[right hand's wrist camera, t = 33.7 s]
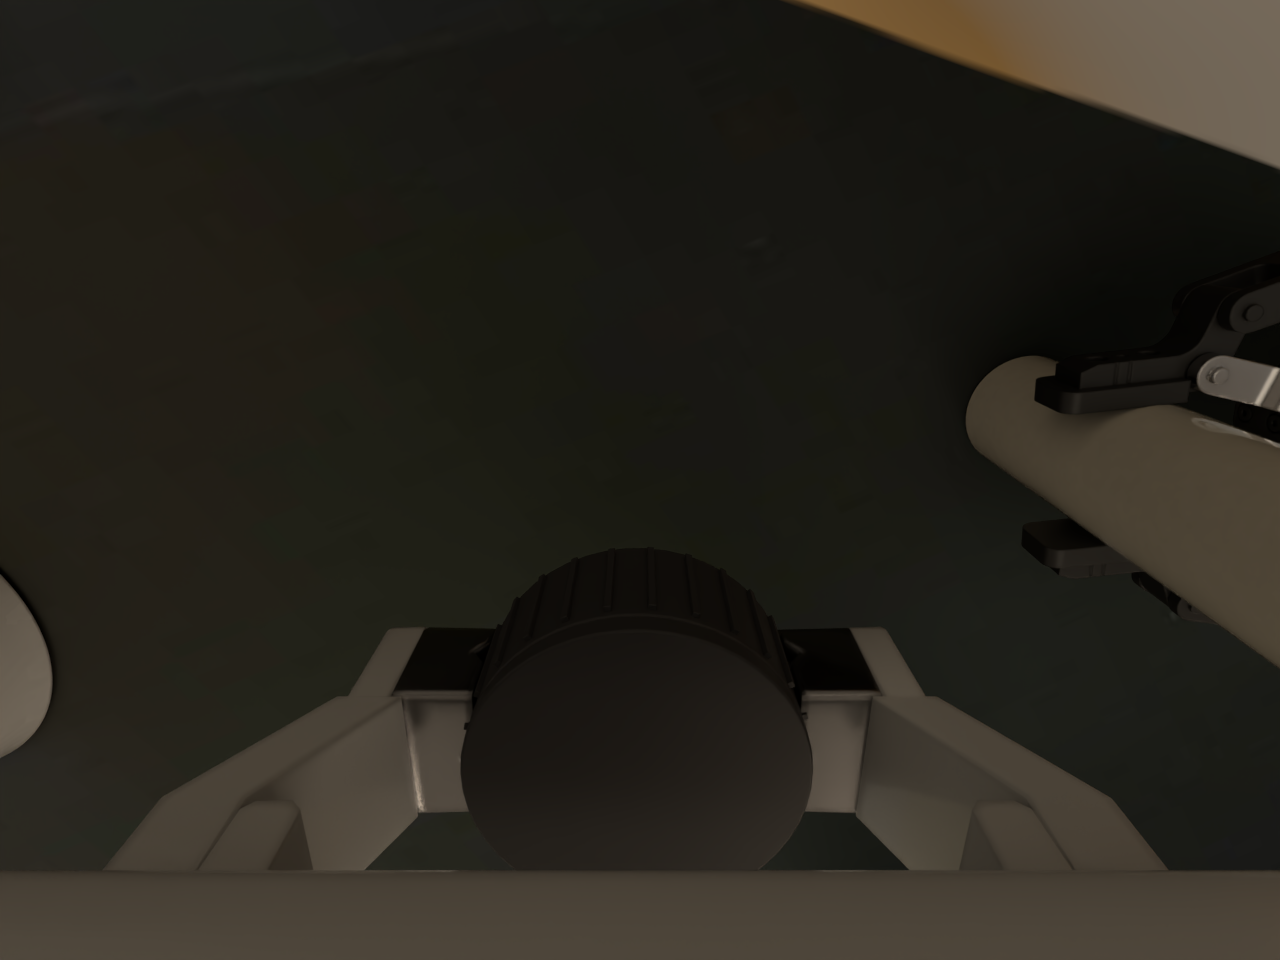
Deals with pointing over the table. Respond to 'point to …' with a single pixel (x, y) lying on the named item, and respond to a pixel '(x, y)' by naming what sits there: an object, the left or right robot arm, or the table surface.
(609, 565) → the cap
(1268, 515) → the bottle
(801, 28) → the table surface
